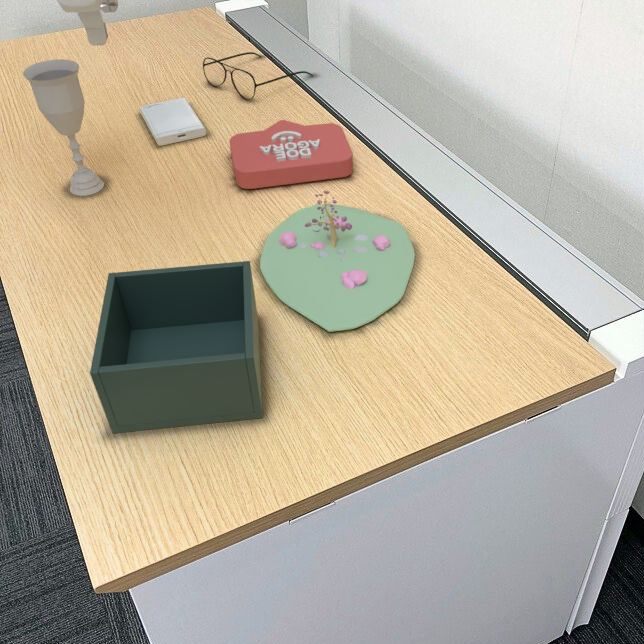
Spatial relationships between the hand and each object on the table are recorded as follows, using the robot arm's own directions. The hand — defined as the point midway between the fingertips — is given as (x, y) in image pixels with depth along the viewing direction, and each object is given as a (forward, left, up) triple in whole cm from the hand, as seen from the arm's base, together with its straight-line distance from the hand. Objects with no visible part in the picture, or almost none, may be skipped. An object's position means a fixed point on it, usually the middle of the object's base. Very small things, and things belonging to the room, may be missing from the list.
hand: (105, 25), depth 80 cm
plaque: (+19, +20, -29) cm, 40 cm away
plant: (+24, -8, -29) cm, 39 cm away
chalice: (-12, +17, -29) cm, 36 cm away
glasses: (+15, +51, -29) cm, 60 cm away
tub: (+5, -25, -29) cm, 39 cm away
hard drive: (0, +35, -29) cm, 45 cm away
